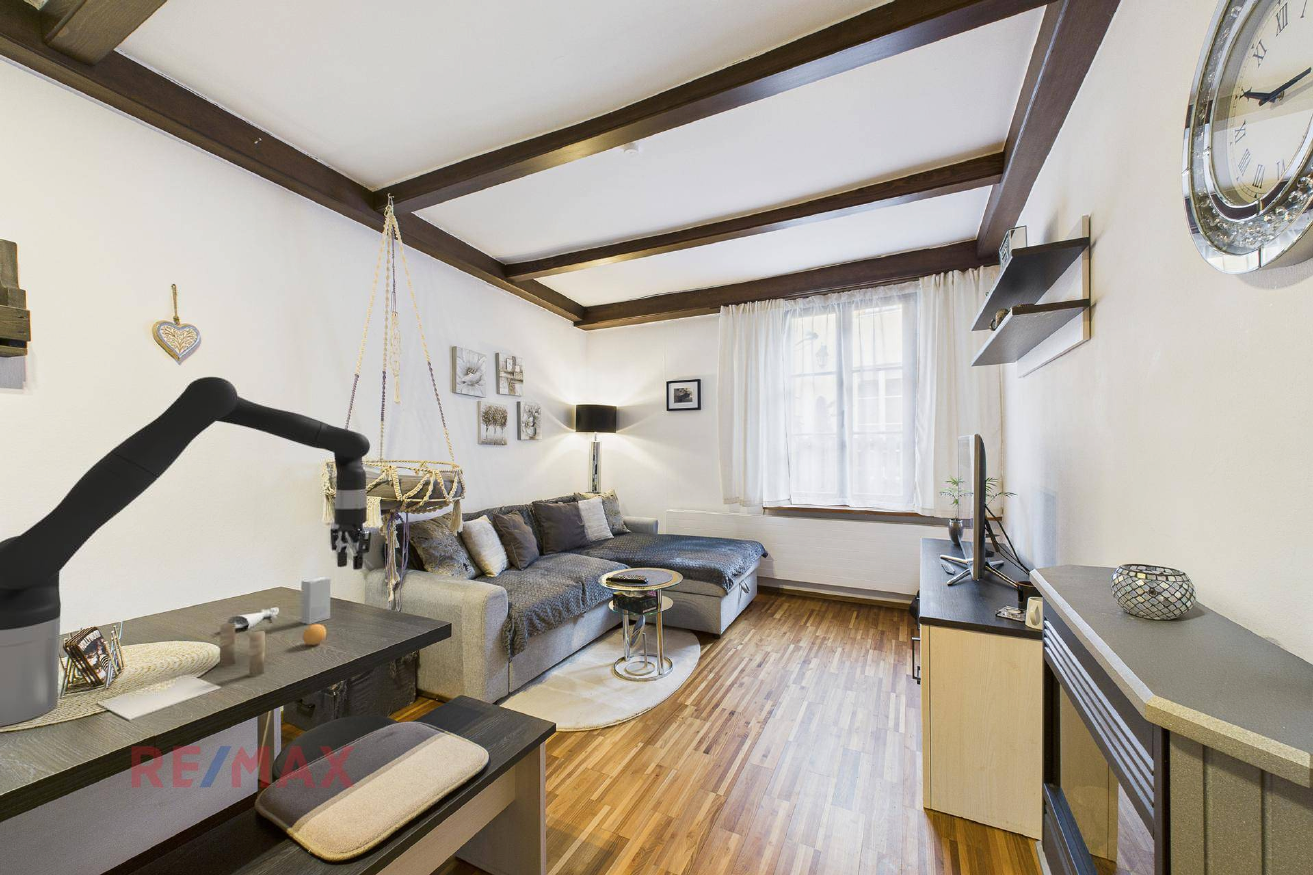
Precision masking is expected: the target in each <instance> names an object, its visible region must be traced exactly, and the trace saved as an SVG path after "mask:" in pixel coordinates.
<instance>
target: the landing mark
mask: <svg viewBox="0 0 1313 875" xmlns="http://www.w3.org/2000/svg"><path fill="white" fill-rule="evenodd" d="M184 675H185V676H184ZM184 675H180V676H176V677H174V678H175V679H173V678H170V679H169V680H171V679H172V680H178V681H167V680H165V681H163V682H166V683H163V684H174V685H171V686H172V687H167V689H165V690H157V691H159V692H156V690H149V689H144V690H139V689H136V691H142V692H133V693H142V694H136V695H142V696H132V691H129V692H126V693H123V694H121V695H120V694H119V695H117V696H113V697H111V698H108V699H105V700H103V701H105V702H103V703H98V702H97V703H98V704H101V706H100V707H102V706H104V707H105V708H104V707H103V708H104V709H106V708H107V710H109V711H111V712H112V713H114V714H116V715H117V716H120V717H122V718H124V719H126V720H128V721H132V720H135V719H137V718H141V717H143V716H145V715H149V714H153V713H154V712H157V711H160V710H164V709H166V708H169V707H172V706H174V705H175V706H176V705H177V704H181V703H184V702H186V701H188V700H192V699H194V698H198V697H200V696H203V695H206V694H209V693H212V692H215V691H217V690H220V689H222V687H221V686H219V685H216V684H214V683H211V682H209V681H206V680H204V679H200V678H198V677H195V676H192V675H190V674H184ZM176 678H178V679H176ZM167 682H168V683H167ZM169 682H174V683H169ZM176 682H177V683H176ZM159 683H160V684H161V682H159ZM150 686H154V684H152V685H150ZM155 686H156V685H155ZM157 686H158V685H157ZM160 686H161V685H160ZM163 686H165V685H163ZM166 686H167V685H166ZM145 687H146V688H154V687H148V686H145ZM155 688H156V687H155ZM164 688H165V687H164ZM145 691H146V692H145ZM148 691H155V692H153V693H152V692H148ZM130 693H131V694H130ZM143 693H151V694H143ZM154 693H155V694H154ZM134 695H135V694H134ZM143 695H145V696H143ZM122 697H123V698H122ZM130 697H136V698H130ZM122 699H123V700H122ZM131 699H133V700H131ZM106 701H108V702H106ZM109 701H110V702H109ZM98 704H97V705H98Z"/></svg>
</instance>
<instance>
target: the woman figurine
mask: <svg viewBox="0 0 1313 875" xmlns="http://www.w3.org/2000/svg"><path fill="white" fill-rule="evenodd" d="M279 612H280V610H279V607H278V606H275V605H274V606H272V607H270V608H269V609H261V611H260V612H255V613H248V614H241V615H234V616H232V617H229V618H228V619H227V621H226V622H225V623H224V624H227V623H235V630H236V629H242V628H244V627H246V626H248V627H247V629H246V631H248V630H250V629H251V628H253V627H254V626H256V625H257V624H258V623H260V622H261V621H262V620H263V619H264V618H270V617H271V618H274V619H275V620H277V618H278V617H277V615H278V614H279Z"/></svg>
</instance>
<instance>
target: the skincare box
mask: <svg viewBox="0 0 1313 875" xmlns="http://www.w3.org/2000/svg"><path fill="white" fill-rule="evenodd" d="M300 588H301V589H300V590H301V592H300V594H301V595H300V596H301V599H300V600H301V601H300V603H301V604H300V605H301V606H300V622H301V623H303V624H305V623H306V625H313V624H315V623H316V624H317V623H319V622H323V621H326V620H329V619H331V578H330V577H327V576H319V577H316V578H315V577H314V578H309V579H306V580H305V579H304V580H301V587H300ZM318 621H319V622H318Z"/></svg>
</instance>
